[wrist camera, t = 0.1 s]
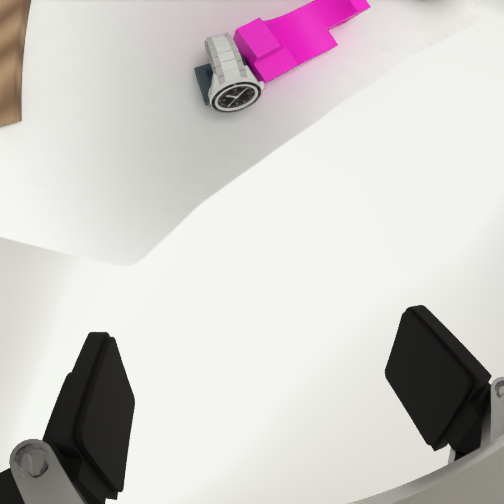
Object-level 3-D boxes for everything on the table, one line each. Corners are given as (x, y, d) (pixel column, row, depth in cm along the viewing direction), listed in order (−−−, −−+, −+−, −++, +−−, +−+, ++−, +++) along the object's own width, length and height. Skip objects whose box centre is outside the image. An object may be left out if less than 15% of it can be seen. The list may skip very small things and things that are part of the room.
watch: (210, 120, 35) (211, 117, 25) (191, 60, 31) (185, 34, 21) (255, 107, 35) (274, 99, 25) (237, 47, 31) (248, 18, 21)
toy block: (259, 87, 34) (271, 78, 27) (230, 46, 31) (236, 29, 25) (354, 38, 32) (382, 25, 25) (328, 1, 30) (352, -19, 23)
